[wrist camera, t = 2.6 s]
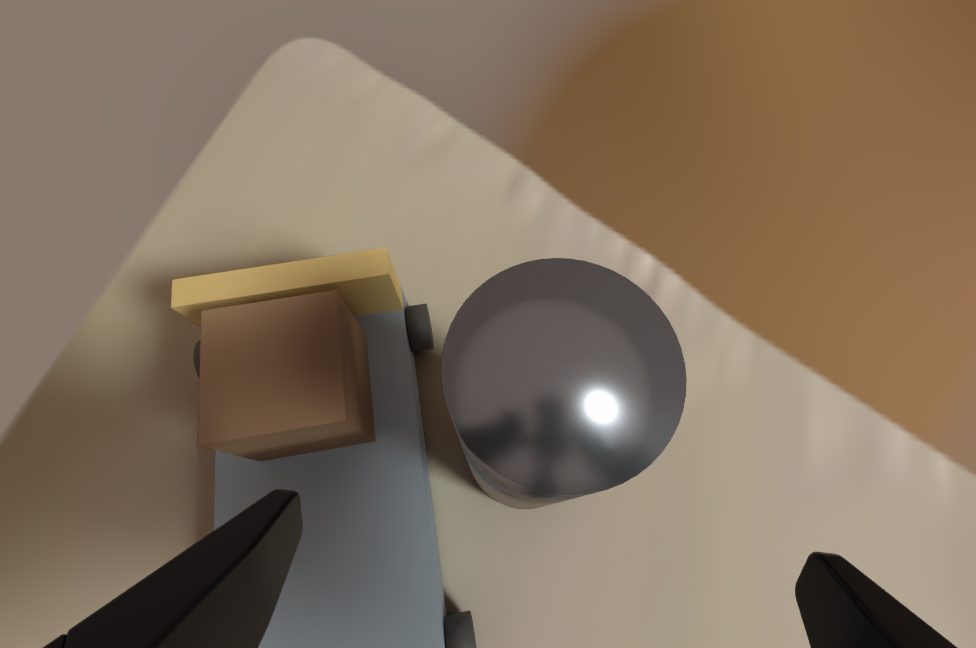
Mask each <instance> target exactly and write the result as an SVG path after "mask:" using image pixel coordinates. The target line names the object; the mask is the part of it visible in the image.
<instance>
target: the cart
mask: <svg viewBox="0 0 976 648" xmlns="http://www.w3.org/2000/svg"><path fill="white" fill-rule="evenodd" d="M333 290H337V292H338V293H339V295H340V296H341V298H342V299H343V301H344V302H345V304H346V305H347V307H348V308H349V310H350V311H351V313H352V314H353V316H354V317H355V319H356V320H357V322H358V323H359V325H360V326H361V328H362V329H363V331H364V332H365V334H366V339H367V350H368V361H369V372H370V383H371V394H372V405H373V415H374V426H375V437H376V442H370V443H364V444H358V445H352V446H347V447H341V448H335V449H329V450H323V451H318V452H312V453H306V454H300V455H294V456H289V457H283V458H277V459H271V460H266V461H260V462H259V461H255V460H252V459H248V458H244V457H240V456H236V455H232V454H228V453H224V452H220V451H217V450H215V496H214V530H216V529H217V528H218V527H220V526H221V525H223V524H224V523H226V522H227V521H229V520H230V519H232V518H233V517H235V516H236V515H237V514H239V513H240V512H242V511H243V510H245V509H246V508H248V507H249V506H251V505H252V504H254V503H255V502H256V501H258V500H259V499H261V498H262V497H264V496H265V495H267V494H268V493H270V492H271V491H273V490H275V489H284V490H293V491H296V492H298V493H299V495H300V501H301V511H302V521H303V530H302V535H301V539H300V542H299V544H298V547H297V550H296V553H295V555H294V558H293V561H292V564H291V566H290V569H289V572H288V575H287V577H286V580H285V583H284V586H283V588H282V591H281V594H280V597H279V599H278V602H277V605H276V607H275V610H274V613H273V615H272V618H271V620H270V623H269V625H268V628H267V630H266V632H265V634H264V636H263V639H262V641H261V643H260V645H259V647H258V648H476V641H475V634H474V627H473V621H472V616H471V612H470V611H466V612H461V613H455V614H450V615H446V607H445V599H444V591H443V583H442V575H441V567H440V559H439V551H438V543H437V535H436V527H435V519H434V511H433V503H432V495H431V487H430V479H429V471H428V463H427V455H426V447H425V439H424V431H423V423H422V415H421V407H420V399H419V391H418V383H417V376H416V368H415V360H414V352H415V351H421V350H427V349H433V348H434V346H433V336H432V329H431V323H430V317H429V312H428V308H427V304H421V305H414V306H408V304H407V301H406V299H405V296H404V293H403V291H402V288H401V286H400V283H399V280H398V278H397V275H396V272H395V270H394V267H393V264H392V262H391V259H390V256H389V254H388V251H387V249H386V248H380V249H373V250H366V251H360V252H353V253H346V254H340V255H333V256H326V257H320V258H313V259H307V260H300V261H293V262H287V263H280V264H273V265H267V266H260V267H253V268H247V269H240V270H234V271H227V272H220V273H214V274H207V275H200V276H194V277H187V278H181V279H174V280H172V297H171V308H172V309H174V310H175V311H177V312H178V313H180V314H181V315H183V316H184V317H186V318H187V319H189V320H190V321H192V322H193V323H195V324H196V325H198V326H199V327H201V315H202V311H203V310H210V309H216V308H223V307H229V306H236V305H242V304H249V303H255V302H262V301H268V300H274V299H281V298H287V297H294V296H300V295H307V294H313V293H320V292H326V291H333ZM200 347H201V340H199V341H198V342H197V344H196V346H195V349H194V364H195V368H196V371H197V374H198V376H199V378H200Z"/></svg>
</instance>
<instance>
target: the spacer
mask: <svg viewBox="0 0 976 648" xmlns="http://www.w3.org/2000/svg"><path fill="white" fill-rule="evenodd" d="M441 378H442V388H443V393H444V398H445V402H446V405H447V408H448V411H449V414H450V417H451V419H452V422H453V425H454V427H455V430H456V433H457V435H458V438H459V441H460V443H461V446H462V449H463V451H464V454H465V457H466V459H467V462H468V465H469V467H470V470H471V473H472V475H473V477H474V479H475V480H476V482H477V483H478V485H479V486H480V487H481V488H482V490H483V491H484V492H485V493H486V494H488V495H489V496H490V497H491V498H493V499H494V500H496V501H497V502H499V503H501V504H503V505H506V506H509V507H513V508H518V509H533V508H538V507H543V506H546V505H550V504H554V503H558V502H562V501H565V500H569V499H573V498H577V497H580V496H584V495H588V494H592V493H596V492H599V491H603V490H607V489H609V488H612V487H615V486H617V485H620V484H622V483H624V482H626V481H628V480H629V479H631V478H633V477H635V476H636V475H638V474H639V473H640V472H642V471H643V470H644V469H646V468H647V467H648V466H649V465H651V464H652V462H653V461H654V460H655V459H656V458H657V457H658V456H659V455H660V454H661V453H662V452H663V450H664V449H665V447H666V446H667V444H668V443H669V442H670V440H671V438H672V436H673V434H674V432H675V430H676V428H677V426H678V424H679V421H680V418H681V415H682V412H683V408H684V402H685V396H686V370H685V362H684V358H683V354H682V350H681V347H680V344H679V341H678V339H677V336H676V334H675V332H674V330H673V328H672V326H671V324H670V322H669V320H668V319H667V317H666V316H665V315H664V313H663V312H662V310H661V309H660V308H659V306H658V305H657V304H656V303H655V302H654V301H653V300H652V299H651V297H650V296H649V295H647V294H646V293H645V292H644V291H643V290H642V289H641V288H640V287H638V286H637V285H636V284H634V283H633V282H631V281H630V280H628V279H627V278H625V277H624V276H622V275H620V274H618V273H616V272H614V271H612V270H610V269H607V268H605V267H602V266H600V265H597V264H593V263H590V262H586V261H581V260H574V259H563V258H551V259H539V260H534V261H529V262H525V263H522V264H519V265H516V266H513V267H510V268H508V269H506V270H504V271H502V272H500V273H498V274H496V275H495V276H493V277H492V278H490V279H489V280H487V281H486V282H485V283H483V284H482V285H481V286H480V287H478V288H477V289H476V290H475V291H474V292H473V293H472V294H471V295H470V296H469V298H468V299H467V300H466V301H465V302H464V304H463V305H462V306H461V308H460V309H459V311H458V312H457V314H456V316H455V318H454V320H453V322H452V323H451V325H450V328H449V331H448V334H447V336H446V339H445V343H444V348H443V353H442V363H441Z"/></svg>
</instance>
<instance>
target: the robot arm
mask: <svg viewBox="0 0 976 648" xmlns="http://www.w3.org/2000/svg"><path fill="white" fill-rule="evenodd" d="M302 530H303V521H302V511H301V501H300V495H299V493H298V492H296V491H293V490H284V489H275V490H273V491H271V492H270V493H268V494H267V495H265V496H264V497H262V498H261V499H259V500H258V501H256V502H255V503H254V504H252V505H251V506H249V507H248V508H246V509H245V510H243V511H242V512H240V513H239V514H237V515H236V516H235V517H233V518H232V519H230V520H229V521H227V522H226V523H224V524H223V525H221V526H220V527H218V528H217V529H216V530H214V531H213V532H211V533H210V534H208V535H207V536H205V537H204V538H202V539H201V540H200V541H198V542H197V543H195V544H194V545H192V546H191V547H189V548H188V549H186V550H185V551H183V552H182V553H181V554H179V555H178V556H176V557H175V558H173V559H172V560H170V561H169V562H167V563H166V564H164V565H163V566H162V567H160V568H159V569H157V570H156V571H154V572H153V573H151V574H150V575H148V576H147V577H146V578H144V579H143V580H141V581H140V582H138V583H137V584H135V585H134V586H132V587H131V588H129V589H128V590H127V591H125V592H124V593H122V594H121V595H119V596H118V597H116V598H115V599H113V600H112V601H111V602H109V603H108V604H106V605H105V606H103V607H102V608H100V609H99V610H97V611H96V612H94V613H93V614H92V615H90V616H89V617H87V618H86V619H84V620H83V621H81V622H80V623H78V624H77V625H75V626H74V627H73V628H71V629H70V630H69V631H68V633H67V635H66V634H63V635H61V636H59V637H58V638H56V639H55V640H53V641H52V642H50V643H49V644H47V645H46V646H45V647H43V648H258V647H259V645H260V643H261V641H262V639H263V636H264V634H265V632H266V630H267V628H268V625H269V623H270V620H271V618H272V615H273V613H274V610H275V607H276V605H277V602H278V599H279V597H280V594H281V591H282V588H283V586H284V583H285V580H286V577H287V575H288V572H289V569H290V566H291V564H292V561H293V558H294V555H295V553H296V550H297V547H298V544H299V542H300V539H301V535H302ZM795 595H796V600H797V604H798V607H799V610H800V613H801V617H802V620H803V623H804V627H805V630H806V633H807V636H808V640H809V643H810V646H811V648H957V647H956V646H955V645H953V644H952V643H951V642H950V641H948V640H947V639H946V638H944V637H943V636H942V635H941V634H939V633H938V632H937V631H936V630H934V629H933V628H932V627H930V626H929V625H928V624H927V623H925V622H924V621H923V620H922V619H920V618H919V617H918V616H917V615H915V614H914V613H913V612H911V611H910V610H909V609H908V608H906V607H905V606H904V605H903V604H901V603H900V602H899V601H898V600H896V599H895V598H894V597H892V596H891V595H890V594H889V593H887V592H886V591H885V590H884V589H882V588H881V587H880V586H878V585H877V584H876V583H875V582H873V581H872V580H871V579H870V578H868V577H867V576H866V575H865V574H863V573H862V572H861V571H859V570H858V569H857V568H856V567H854V566H853V565H852V564H851V563H849V562H848V561H847V560H846V559H844V558H843V557H841V556H839V555H837V554H832V553H823V552H813V553H812V554H810V555H809V557H808V558H807V561H806V563H805V565H804V567H803V569H802V571H801V574H800V576H799V578H798V580H797V582H796V586H795Z"/></svg>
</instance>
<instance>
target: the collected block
mask: <svg viewBox="0 0 976 648" xmlns="http://www.w3.org/2000/svg"><path fill="white" fill-rule="evenodd" d="M370 442H376V437H375V426H374V415H373V405H372V394H371V383H370V372H369V361H368V350H367V339H366V334H365V332H364V331H363V329H362V328H361V326H360V325H359V323H358V322H357V320H356V319H355V317H354V316H353V314H352V313H351V311H350V310H349V308H348V307H347V305H346V304H345V302H344V301H343V299H342V298H341V296H340V295H339V293H338V292H337V290H333V291H326V292H320V293H313V294H307V295H300V296H294V297H287V298H281V299H274V300H268V301H262V302H255V303H249V304H242V305H236V306H229V307H223V308H216V309H210V310H203V311H202V315H201V347H200V380H199V412H198V444H197V446H201V447H205V448H209V449H213V450H217V451H220V452H224V453H228V454H232V455H236V456H240V457H244V458H248V459H252V460H255V461H259V462H260V461H266V460H271V459H277V458H283V457H289V456H294V455H300V454H306V453H312V452H318V451H323V450H329V449H335V448H341V447H347V446H352V445H358V444H364V443H370Z"/></svg>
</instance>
